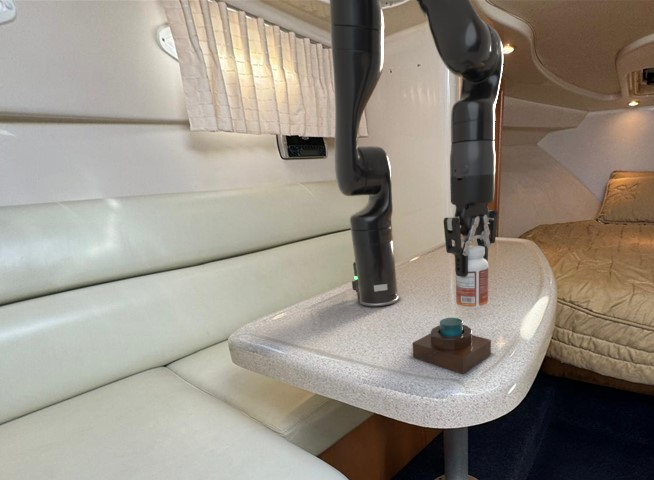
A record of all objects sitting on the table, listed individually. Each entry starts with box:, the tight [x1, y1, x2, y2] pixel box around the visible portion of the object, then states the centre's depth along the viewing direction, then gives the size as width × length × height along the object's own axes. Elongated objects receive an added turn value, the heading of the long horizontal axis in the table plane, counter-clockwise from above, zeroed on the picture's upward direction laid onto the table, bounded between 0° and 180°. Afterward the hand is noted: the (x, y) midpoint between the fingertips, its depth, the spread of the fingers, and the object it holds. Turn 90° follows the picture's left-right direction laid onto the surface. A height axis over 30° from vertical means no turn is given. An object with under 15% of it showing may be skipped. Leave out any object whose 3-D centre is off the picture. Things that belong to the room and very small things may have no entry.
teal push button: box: [439, 317, 464, 336], centre depth 58 cm, size 4×4×2 cm
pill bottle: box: [455, 245, 489, 311], centre depth 69 cm, size 6×6×11 cm
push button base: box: [412, 324, 492, 375], centre depth 59 cm, size 10×8×4 cm
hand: (472, 271), depth 69 cm, fingers closed on pill bottle, 6 cm apart
